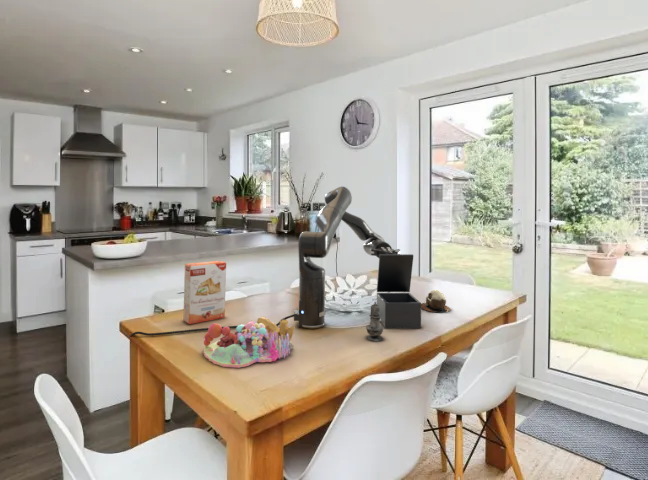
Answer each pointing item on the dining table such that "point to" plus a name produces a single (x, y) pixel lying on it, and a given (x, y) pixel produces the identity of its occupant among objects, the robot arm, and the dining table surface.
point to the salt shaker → (374, 324)
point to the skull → (435, 302)
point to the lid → (394, 272)
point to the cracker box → (204, 291)
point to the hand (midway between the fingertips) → (390, 255)
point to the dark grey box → (399, 310)
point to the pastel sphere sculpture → (248, 343)
